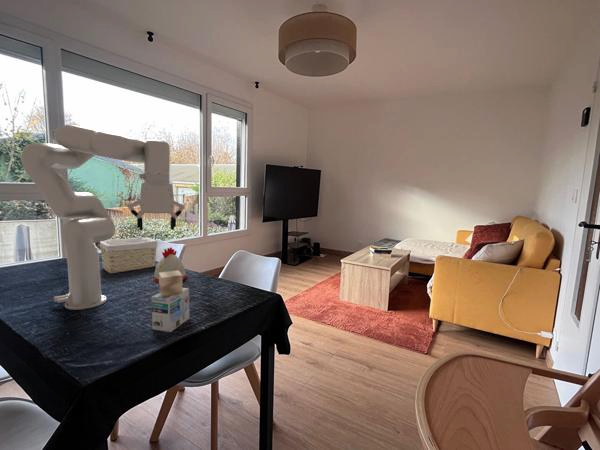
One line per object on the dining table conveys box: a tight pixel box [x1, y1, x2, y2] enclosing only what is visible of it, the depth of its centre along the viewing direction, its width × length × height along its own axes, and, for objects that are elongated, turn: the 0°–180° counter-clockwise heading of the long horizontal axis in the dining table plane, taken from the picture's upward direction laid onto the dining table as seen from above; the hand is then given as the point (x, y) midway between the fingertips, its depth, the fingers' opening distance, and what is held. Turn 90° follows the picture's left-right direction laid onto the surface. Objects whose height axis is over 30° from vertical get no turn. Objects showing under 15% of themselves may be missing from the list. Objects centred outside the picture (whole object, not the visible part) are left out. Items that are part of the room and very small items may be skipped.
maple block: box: [158, 270, 184, 297], centre depth 96 cm, size 6×6×6 cm
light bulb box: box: [151, 287, 190, 333], centre depth 97 cm, size 11×7×11 cm, turn 168°
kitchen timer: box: [153, 247, 187, 283], centre depth 143 cm, size 14×14×15 cm
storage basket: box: [99, 236, 158, 274], centre depth 158 cm, size 24×16×15 cm
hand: (156, 229), depth 102 cm, fingers open, 9 cm apart
